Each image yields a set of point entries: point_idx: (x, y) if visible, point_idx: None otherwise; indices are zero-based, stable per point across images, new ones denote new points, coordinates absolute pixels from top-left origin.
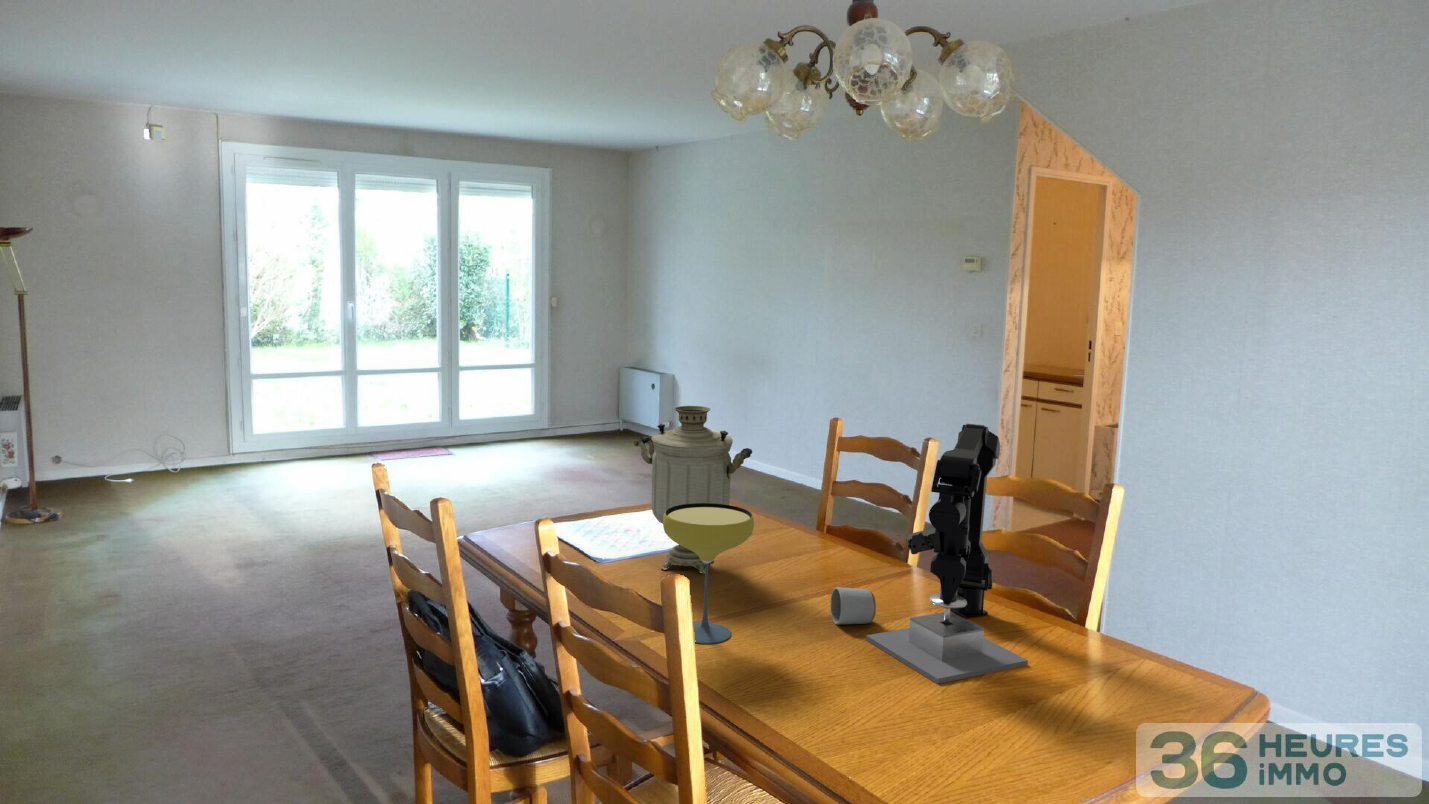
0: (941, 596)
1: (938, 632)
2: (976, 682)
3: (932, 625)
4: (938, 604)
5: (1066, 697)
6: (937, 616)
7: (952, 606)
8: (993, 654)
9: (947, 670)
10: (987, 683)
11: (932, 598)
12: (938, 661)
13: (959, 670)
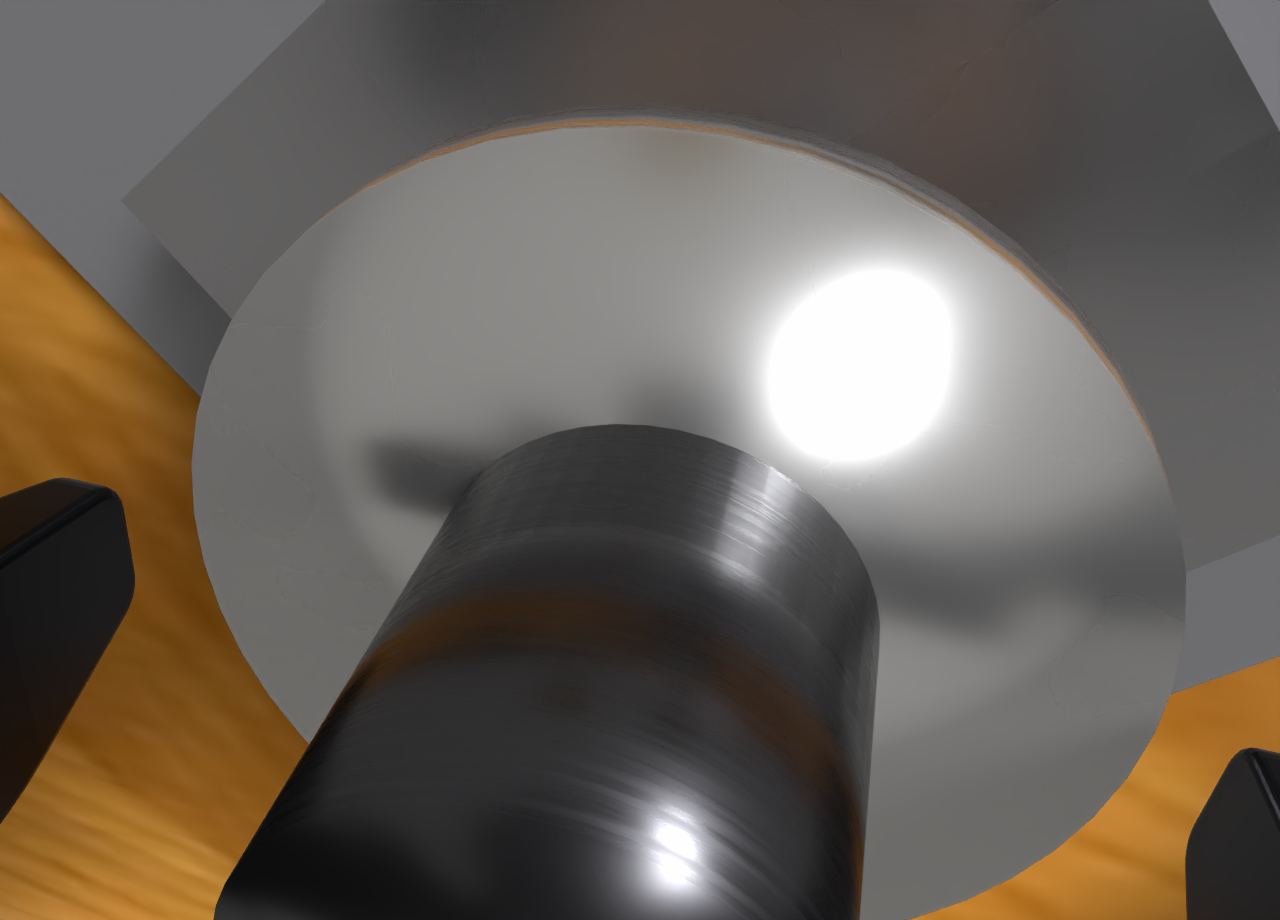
0: (483, 508)
1: (220, 129)
2: (117, 375)
3: (535, 41)
4: (243, 325)
5: (196, 882)
6: (1106, 190)
7: (232, 615)
8: None
9: (79, 125)
10: (147, 462)
11: (600, 211)
12: (280, 35)
13: (150, 259)
